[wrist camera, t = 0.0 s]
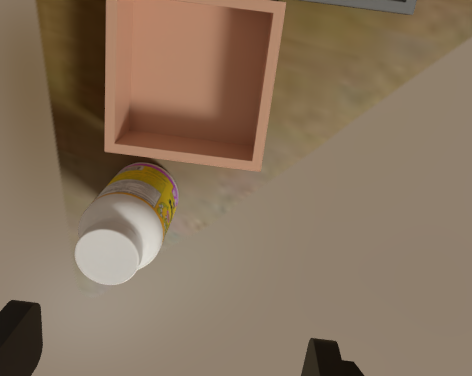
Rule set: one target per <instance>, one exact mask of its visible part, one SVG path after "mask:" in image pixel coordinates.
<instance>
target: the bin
mask: <svg viewBox="0 0 472 376" xmlns="http://www.w3.org/2000/svg"><path fill="white" fill-rule="evenodd" d="M285 8H286V2H279V1H271V0H106V59H105V152H110V153H118V154H126V155H134V156H141V157H149V158H157V159H165V160H173V161H180V162H188V163H196V164H204V165H212V166H219V167H227V168H235V169H243V170H251V171H258V172H261V166H262V159H263V152H264V146H265V139H266V133H267V126H268V120H269V113H270V106H271V100H272V93H273V87H274V80H275V74H276V67H277V60H278V54H279V47H280V41H281V34H282V28H283V21H284V14H285Z"/></svg>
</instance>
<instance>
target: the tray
mask: <svg viewBox="0 0 472 376" xmlns="http://www.w3.org/2000/svg"><path fill="white" fill-rule="evenodd" d="M300 1H308V2H315V3H323V4H330V5H338V6H346V7H353V8H361V9H368V10H376V11H383V12H391V13H398V14H406V15H413V13H414V9H415V5H416V1H417V0H300Z"/></svg>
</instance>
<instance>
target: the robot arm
mask: <svg viewBox="0 0 472 376" xmlns="http://www.w3.org/2000/svg"><path fill="white" fill-rule="evenodd" d="M42 346H43V342H42V322H41V307H40V305H39V304H38V303H33V302H25V301H17V300H11V301H9V302H8V303H7V305H6V306H5V307H4V308H3V309H2V310H1V311H0V376H31V375H32V373H33V372H34V370H35V368H36V367H37V365H38V362H39V360H40V357H41V353H42ZM301 376H364V375H363V373H362V372H361V371H360V369H359V368H358V367H357V366H356V364H355V363H354V362H351V361H344V360H342V359H341V355H340V351H339V347H338V344H337V342H336V341H332V340H324V339H316V338H315V339H314V338H311V339H310V341H309V344H308V348H307V352H306V357H305V361H304V365H303V370H302V374H301Z"/></svg>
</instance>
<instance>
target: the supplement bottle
mask: <svg viewBox="0 0 472 376" xmlns="http://www.w3.org/2000/svg"><path fill="white" fill-rule="evenodd" d="M177 204H178V189H177V186H176V183H175V181H174V179H173V178H172V177H171V175H170V174H169V173H168V172H167V171H165V170H164V169H163V168H161V167H159V166H157V165H154V164H151V163H144V162H140V163H134V164H131V165H128V166H126V167H125V168H123V169H122V170H121V171H119V172H118V173H117V174H116V176H115V177H114V178H113V179H112V180H111V181H110V183H109V184H108V185H107V186H106V187H105V188H104V189H103V191H102V192H101V193H100V194H99V195H98V196H97V197H96V199H95V200H94V201H93V202H92V203H91V204H90V205H89V207H88V208H87V209H86V210H85V212H84V213H83V215H82V217H81V219H80V222H79V228H78V235H79V240H78V242H77V244H76V247H75V260H76V263H77V265H78V267H79V269H80V270H81V272H82V273H83V274H84V275H85V276H87V277H88V278H89V279H91V280H93V281H95V282H97V283H101V284H106V285H116V284H121V283H123V282H125V281H127V280H129V279H130V278H131V277H132V276H133V275H134V274H135V273H136V271H137V270H139V269H141V268H143V267H145V266H146V265H148V264H149V263H150V262H151V261H152V260H153V259H154V258H155V257H156V255H157V254H158V252H159V250H160V247H161V245H162V242H163V240H164V237H165V235H166V232H167V230H168V228H169V225H170V223H171V220H172V218H173V215H174V213H175V210H176V207H177Z"/></svg>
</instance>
